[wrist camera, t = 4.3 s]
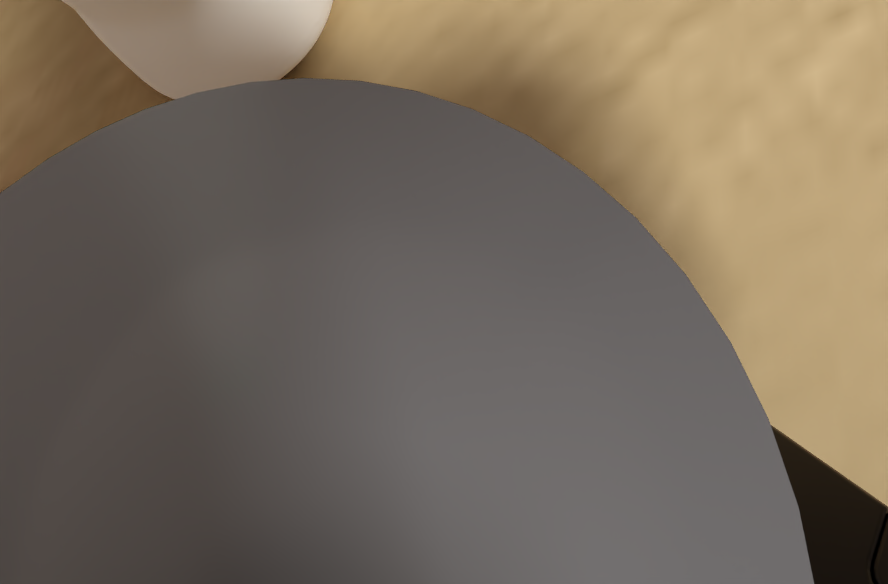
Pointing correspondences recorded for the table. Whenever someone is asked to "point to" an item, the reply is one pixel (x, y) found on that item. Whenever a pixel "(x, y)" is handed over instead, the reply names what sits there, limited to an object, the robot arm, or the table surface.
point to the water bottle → (206, 39)
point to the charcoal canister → (363, 362)
